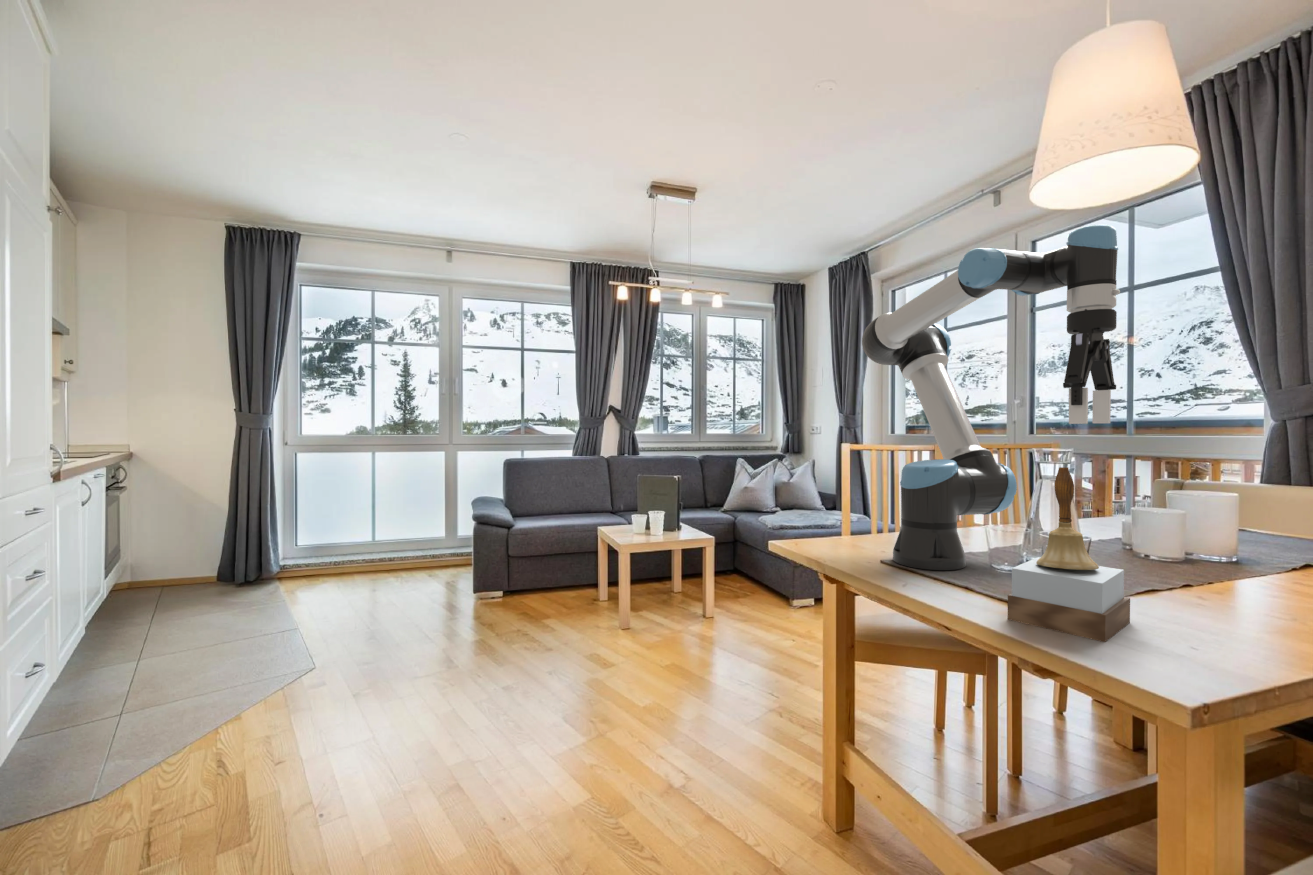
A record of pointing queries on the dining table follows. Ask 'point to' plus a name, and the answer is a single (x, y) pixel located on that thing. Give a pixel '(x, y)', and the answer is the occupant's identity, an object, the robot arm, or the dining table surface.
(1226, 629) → the dining table surface
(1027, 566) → the top block
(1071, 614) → the bottom block
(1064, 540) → the hand bell
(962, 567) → the robot arm
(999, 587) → the dining table surface
